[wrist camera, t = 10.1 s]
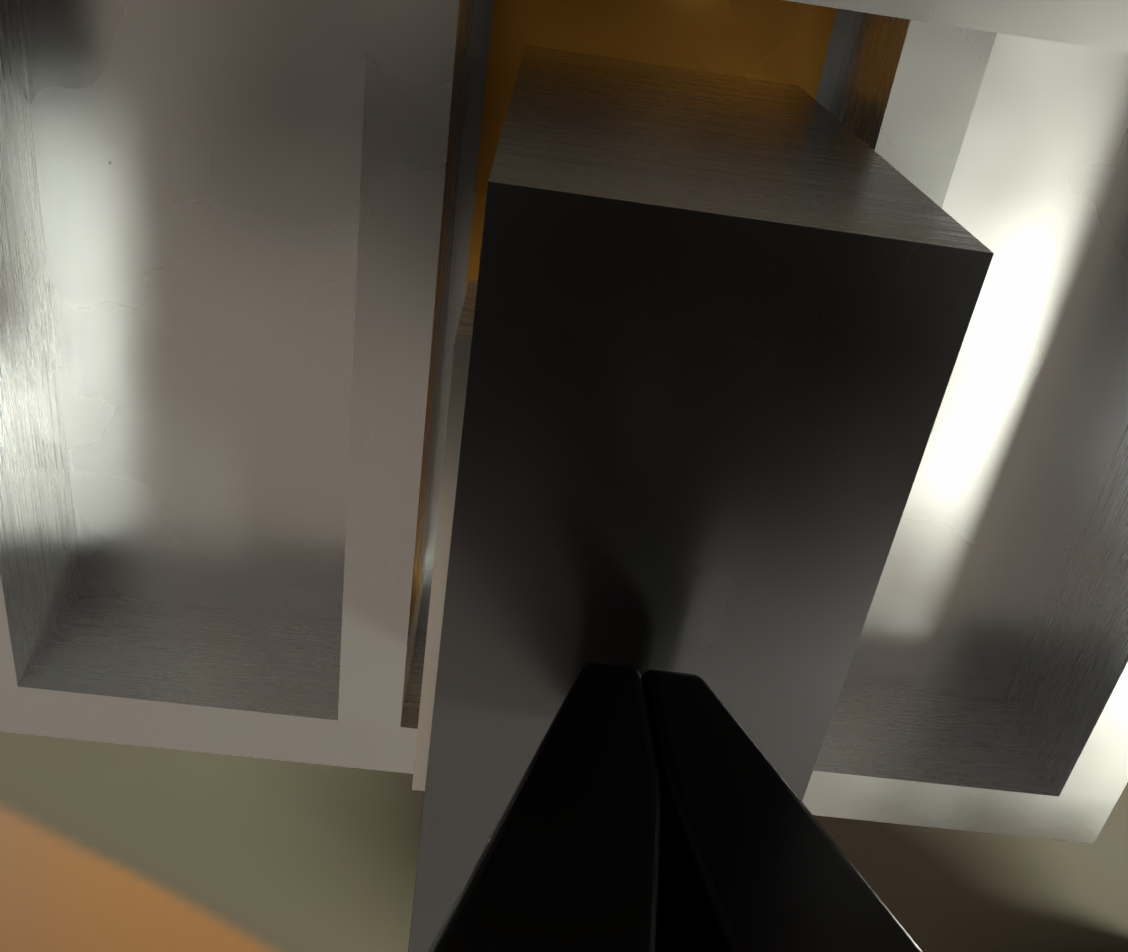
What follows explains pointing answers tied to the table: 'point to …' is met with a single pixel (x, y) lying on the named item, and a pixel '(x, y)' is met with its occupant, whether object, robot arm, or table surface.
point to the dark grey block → (672, 420)
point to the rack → (425, 356)
